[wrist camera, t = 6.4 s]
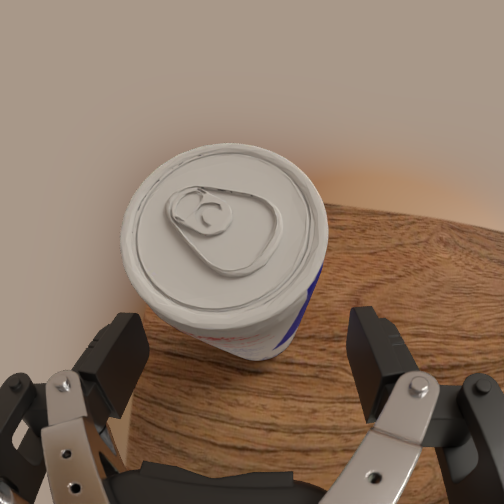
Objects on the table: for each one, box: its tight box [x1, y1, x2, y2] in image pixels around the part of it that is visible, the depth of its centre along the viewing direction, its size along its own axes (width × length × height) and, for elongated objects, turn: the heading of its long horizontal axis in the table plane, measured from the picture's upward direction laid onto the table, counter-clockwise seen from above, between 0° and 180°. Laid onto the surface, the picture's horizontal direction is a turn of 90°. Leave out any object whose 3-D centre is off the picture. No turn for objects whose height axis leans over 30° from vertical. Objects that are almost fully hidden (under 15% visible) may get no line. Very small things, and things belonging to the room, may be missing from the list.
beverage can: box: [120, 143, 328, 361], centre depth 14 cm, size 6×6×15 cm
